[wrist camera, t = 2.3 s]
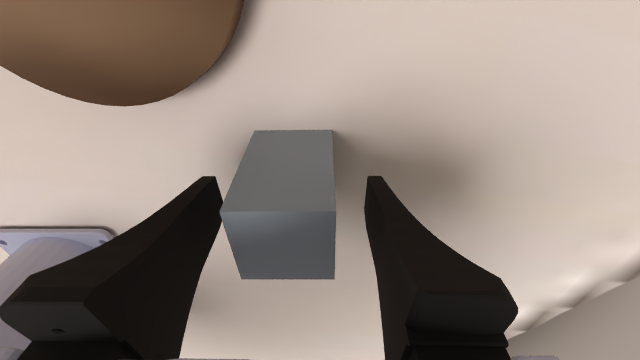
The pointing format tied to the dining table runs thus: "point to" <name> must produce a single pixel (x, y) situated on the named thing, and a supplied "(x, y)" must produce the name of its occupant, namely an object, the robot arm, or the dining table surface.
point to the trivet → (115, 45)
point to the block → (283, 206)
